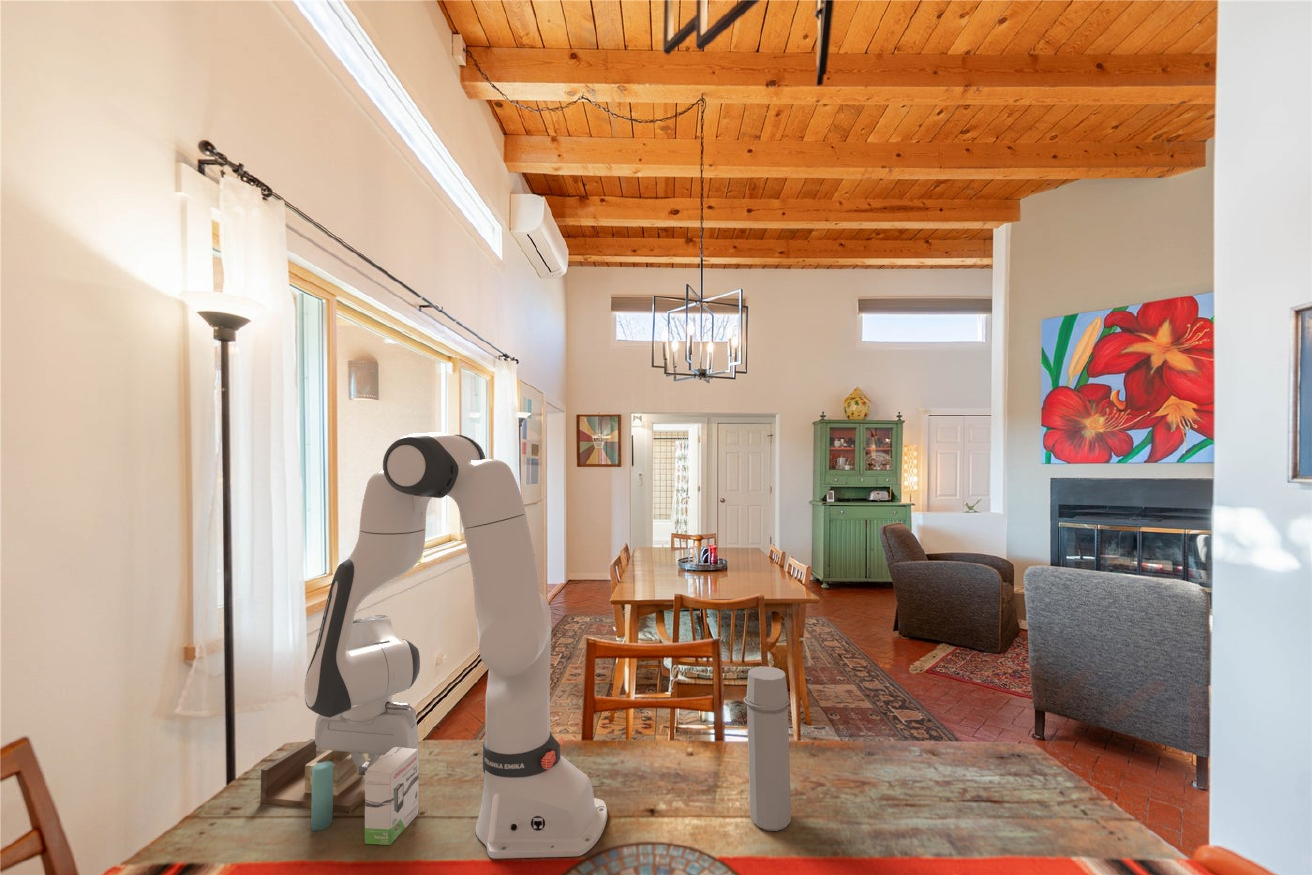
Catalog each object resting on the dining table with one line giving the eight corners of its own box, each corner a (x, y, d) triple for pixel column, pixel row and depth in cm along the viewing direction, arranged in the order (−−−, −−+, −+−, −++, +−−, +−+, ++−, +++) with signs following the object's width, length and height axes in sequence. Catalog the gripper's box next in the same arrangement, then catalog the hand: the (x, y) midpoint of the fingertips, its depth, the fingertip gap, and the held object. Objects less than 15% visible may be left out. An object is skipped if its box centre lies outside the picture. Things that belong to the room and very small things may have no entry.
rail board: (392, 775, 112) (392, 745, 113) (350, 811, 101) (350, 777, 101) (311, 768, 116) (311, 738, 116) (260, 802, 104) (261, 769, 104)
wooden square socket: (363, 775, 111) (363, 749, 111) (337, 795, 104) (337, 768, 104) (332, 772, 112) (332, 746, 112) (304, 792, 105) (305, 765, 106)
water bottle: (800, 830, 93) (796, 679, 95) (755, 836, 92) (751, 682, 93) (779, 798, 102) (775, 660, 104) (738, 803, 101) (735, 663, 102)
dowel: (336, 819, 98) (337, 761, 99) (322, 831, 95) (323, 771, 96) (320, 818, 99) (321, 760, 100) (306, 829, 96) (307, 770, 96)
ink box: (390, 846, 91) (390, 772, 92) (362, 844, 92) (363, 771, 93) (419, 814, 100) (419, 746, 100) (393, 812, 100) (394, 745, 101)
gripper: (425, 697, 109) (424, 769, 108) (334, 691, 113) (332, 761, 112) (405, 711, 103) (404, 788, 102) (309, 704, 107) (308, 778, 106)
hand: (366, 773), depth 107 cm, fingers closed
